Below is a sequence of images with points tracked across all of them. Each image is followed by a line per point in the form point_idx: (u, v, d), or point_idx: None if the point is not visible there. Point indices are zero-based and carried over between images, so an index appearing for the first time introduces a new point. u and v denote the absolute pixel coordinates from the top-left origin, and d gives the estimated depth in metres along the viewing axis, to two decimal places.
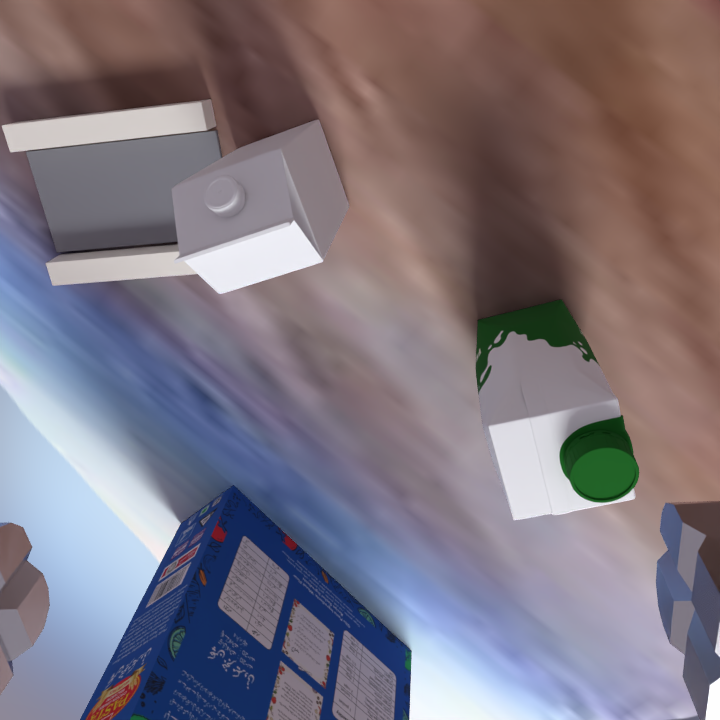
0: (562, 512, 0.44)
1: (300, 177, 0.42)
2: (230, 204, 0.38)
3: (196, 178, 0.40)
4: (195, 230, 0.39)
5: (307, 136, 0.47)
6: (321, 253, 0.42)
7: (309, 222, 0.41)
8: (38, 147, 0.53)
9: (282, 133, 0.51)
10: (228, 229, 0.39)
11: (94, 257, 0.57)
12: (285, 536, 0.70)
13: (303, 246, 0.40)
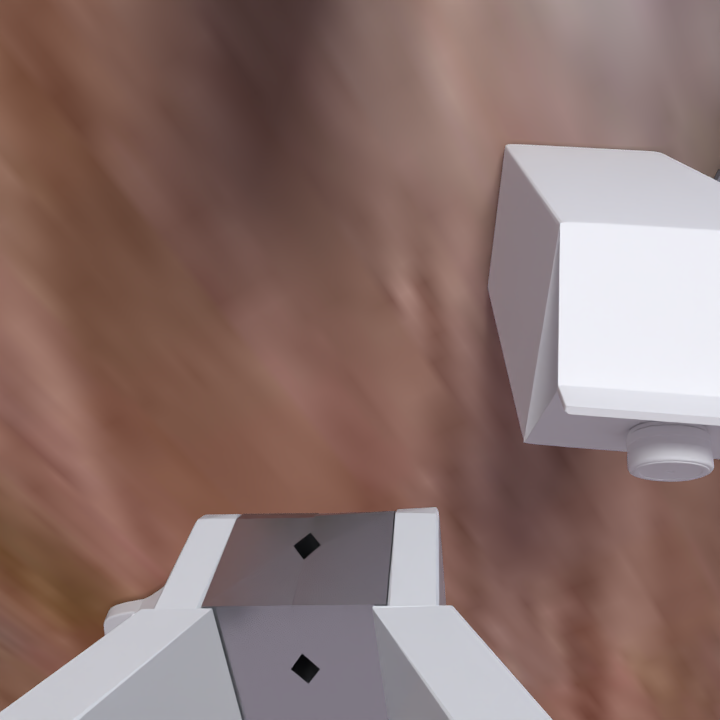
0: None
1: (524, 355, 0.22)
2: (665, 458, 0.18)
3: None
4: None
5: (500, 328, 0.29)
6: (556, 236, 0.19)
7: (545, 305, 0.20)
8: None
9: None
10: None
11: None
12: None
13: (578, 293, 0.18)
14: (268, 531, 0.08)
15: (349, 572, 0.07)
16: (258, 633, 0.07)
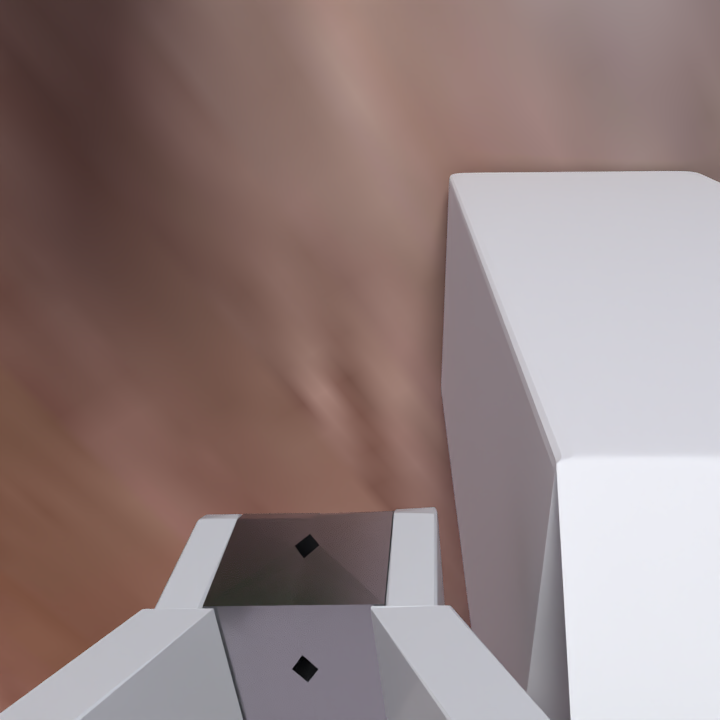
0: None
1: (493, 654, 0.10)
2: None
3: None
4: None
5: (456, 494, 0.17)
6: (547, 485, 0.07)
7: (530, 633, 0.08)
8: None
9: None
10: None
11: None
12: None
13: (626, 694, 0.06)
14: (269, 531, 0.08)
15: (348, 572, 0.07)
16: (259, 633, 0.07)
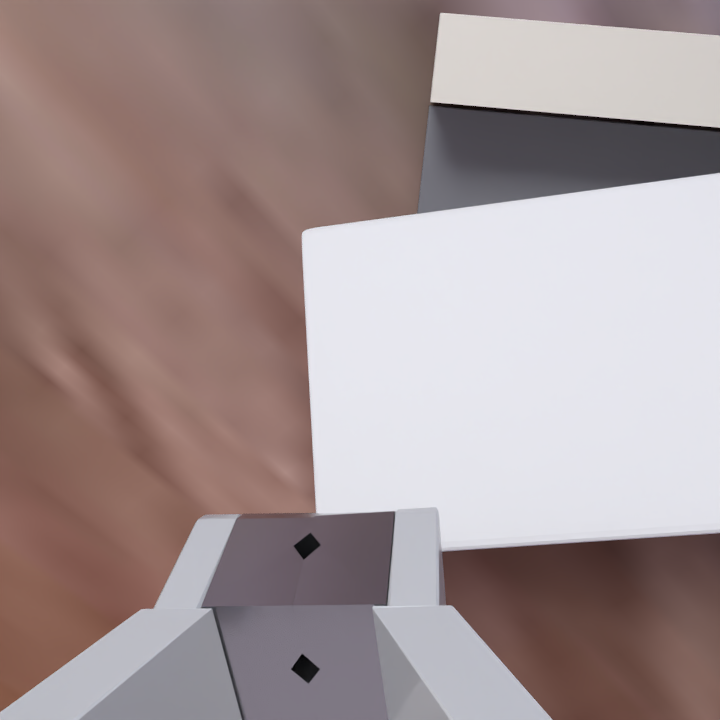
0: None
1: None
2: None
3: None
4: None
5: None
6: None
7: None
8: None
9: None
10: None
11: None
12: None
13: None
14: (268, 531, 0.08)
15: (349, 572, 0.07)
16: (258, 633, 0.07)
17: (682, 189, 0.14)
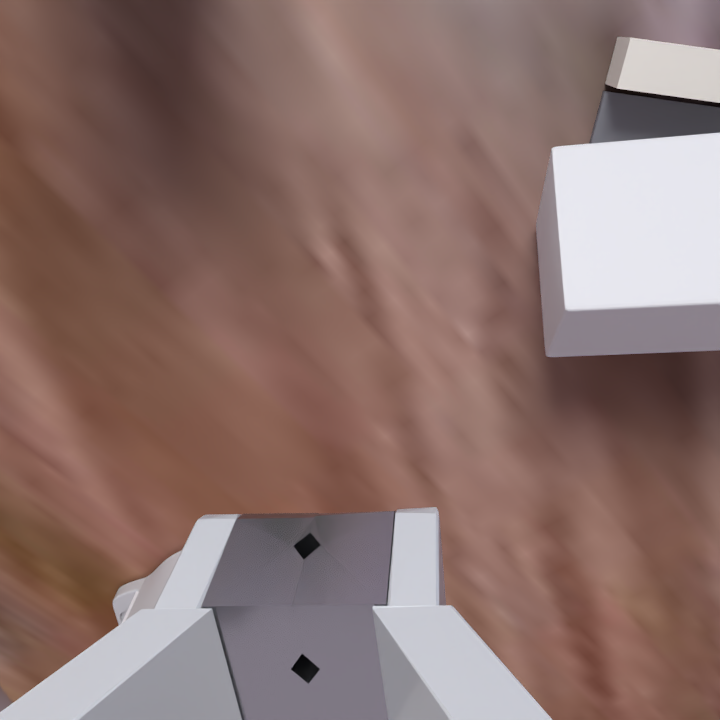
0: None
1: None
2: None
3: None
4: None
5: (692, 349, 0.31)
6: None
7: None
8: None
9: None
10: None
11: None
12: None
13: None
14: (268, 531, 0.08)
15: (349, 572, 0.07)
16: (258, 633, 0.07)
17: None
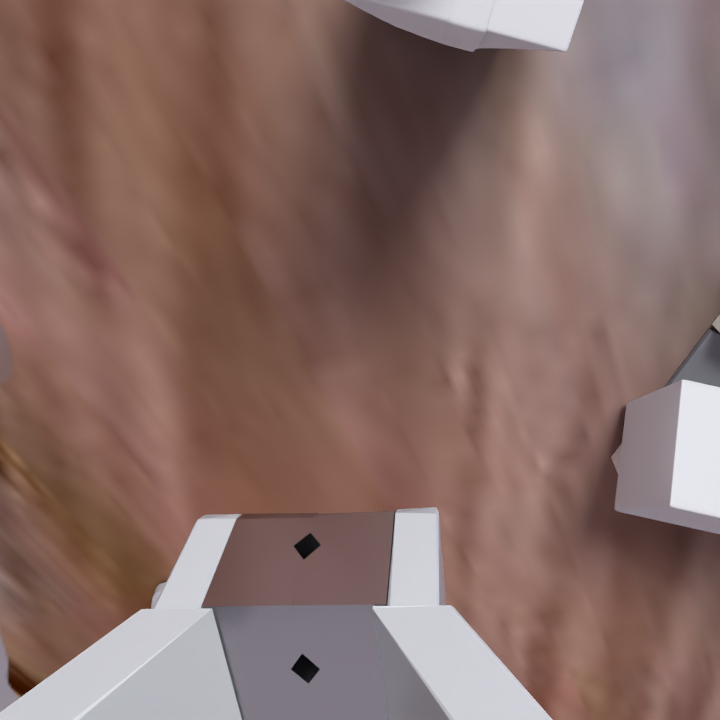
0: None
1: None
2: None
3: None
4: None
5: (719, 533, 0.42)
6: None
7: None
8: None
9: None
10: None
11: None
12: None
13: None
14: (268, 531, 0.08)
15: (349, 573, 0.07)
16: (258, 633, 0.07)
17: None
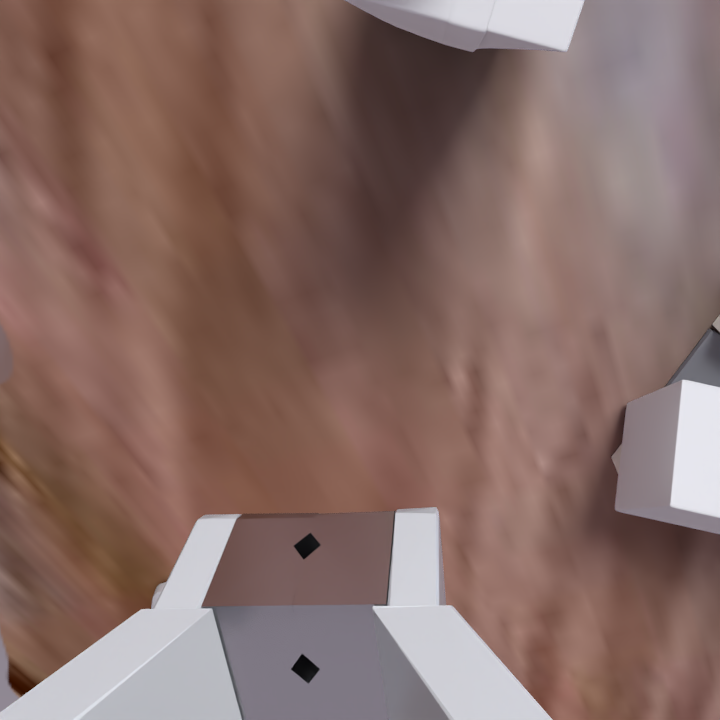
0: None
1: None
2: None
3: None
4: None
5: (719, 533, 0.42)
6: None
7: None
8: None
9: None
10: None
11: None
12: None
13: None
14: (268, 531, 0.08)
15: (349, 573, 0.07)
16: (258, 633, 0.07)
17: None
